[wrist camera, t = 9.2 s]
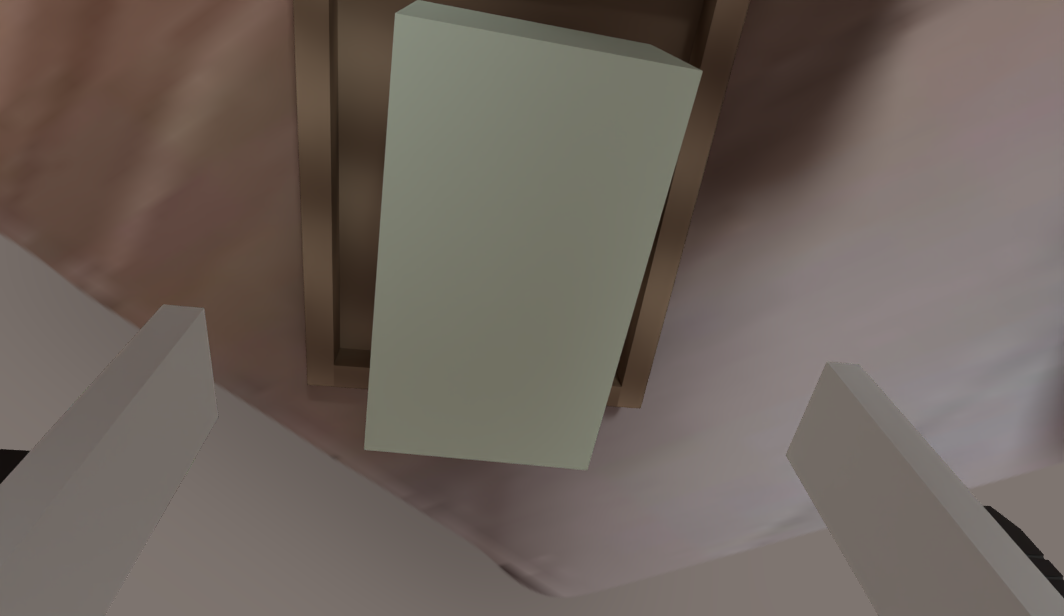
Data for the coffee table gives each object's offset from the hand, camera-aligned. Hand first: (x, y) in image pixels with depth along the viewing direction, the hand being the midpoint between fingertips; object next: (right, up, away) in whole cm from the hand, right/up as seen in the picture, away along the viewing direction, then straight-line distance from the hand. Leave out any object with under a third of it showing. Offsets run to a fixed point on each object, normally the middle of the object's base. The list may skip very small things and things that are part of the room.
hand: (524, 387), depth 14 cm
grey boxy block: (-1, +5, +11) cm, 12 cm away
